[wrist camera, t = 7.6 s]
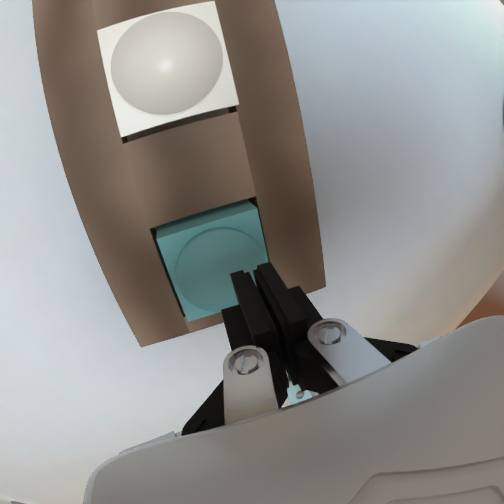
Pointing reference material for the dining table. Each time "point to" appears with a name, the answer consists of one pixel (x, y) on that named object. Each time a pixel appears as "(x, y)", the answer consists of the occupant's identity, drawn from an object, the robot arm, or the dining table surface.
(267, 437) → the robot arm
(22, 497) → the dining table surface
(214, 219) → the teal button
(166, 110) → the cream button
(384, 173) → the dining table surface
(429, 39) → the dining table surface
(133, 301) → the button panel
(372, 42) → the dining table surface
